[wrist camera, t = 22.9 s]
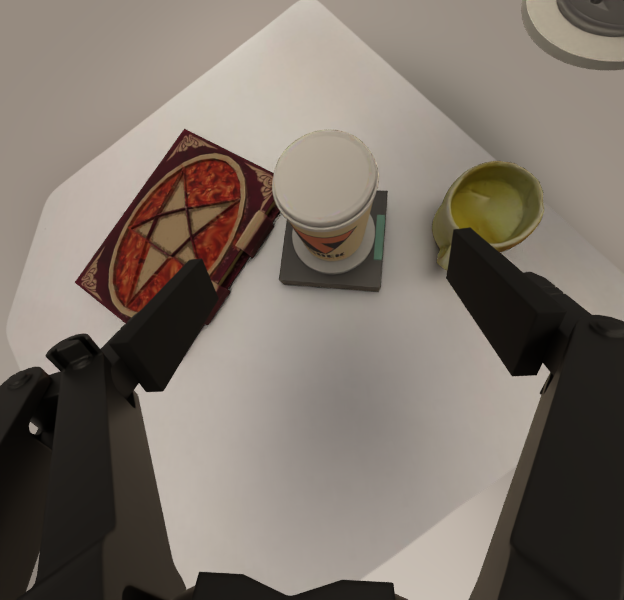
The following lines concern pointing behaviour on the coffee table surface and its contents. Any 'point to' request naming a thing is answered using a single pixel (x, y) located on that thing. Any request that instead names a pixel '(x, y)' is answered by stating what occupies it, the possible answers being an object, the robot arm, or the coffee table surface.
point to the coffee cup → (327, 191)
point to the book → (184, 226)
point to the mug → (490, 207)
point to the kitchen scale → (345, 273)
